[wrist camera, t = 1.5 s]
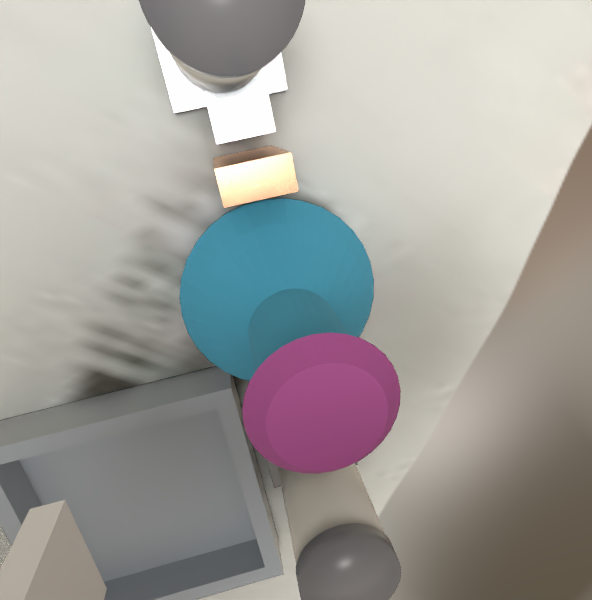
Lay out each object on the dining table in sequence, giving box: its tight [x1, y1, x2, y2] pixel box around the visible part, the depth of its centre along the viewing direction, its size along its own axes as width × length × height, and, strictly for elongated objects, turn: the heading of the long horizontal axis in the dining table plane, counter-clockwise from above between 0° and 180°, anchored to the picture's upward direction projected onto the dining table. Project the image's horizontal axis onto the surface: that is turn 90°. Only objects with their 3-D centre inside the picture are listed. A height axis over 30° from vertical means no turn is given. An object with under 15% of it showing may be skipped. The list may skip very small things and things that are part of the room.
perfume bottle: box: [180, 198, 400, 474], centre depth 20 cm, size 9×9×15 cm
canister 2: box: [278, 463, 401, 600], centre depth 26 cm, size 5×5×10 cm
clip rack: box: [151, 28, 357, 488], centre depth 24 cm, size 6×31×7 cm, turn 12°
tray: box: [0, 366, 284, 600], centre depth 29 cm, size 14×14×3 cm
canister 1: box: [139, 0, 305, 93], centre depth 18 cm, size 5×5×10 cm
